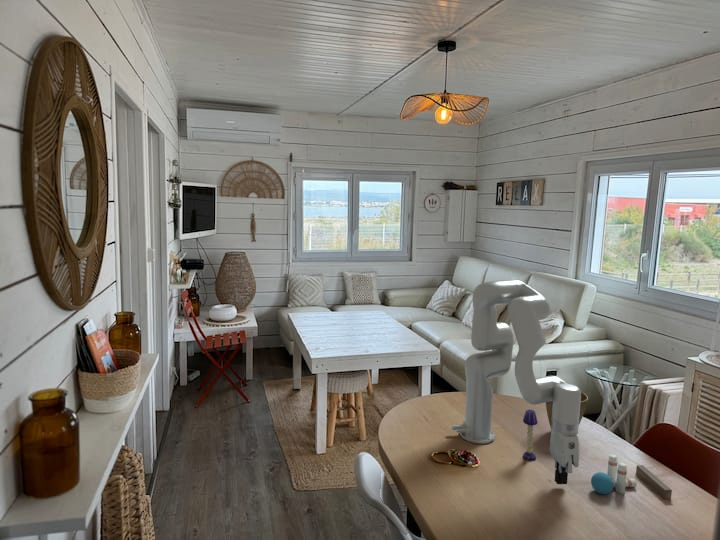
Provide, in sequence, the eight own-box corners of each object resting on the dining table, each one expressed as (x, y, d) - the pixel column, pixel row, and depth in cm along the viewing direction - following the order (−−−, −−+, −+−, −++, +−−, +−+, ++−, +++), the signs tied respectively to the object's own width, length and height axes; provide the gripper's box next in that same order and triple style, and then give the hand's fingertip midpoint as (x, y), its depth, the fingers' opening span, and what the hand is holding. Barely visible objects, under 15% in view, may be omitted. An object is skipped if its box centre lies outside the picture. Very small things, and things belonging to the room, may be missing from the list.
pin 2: (618, 493, 149) (620, 467, 148) (613, 489, 151) (616, 462, 150) (626, 493, 149) (629, 466, 148) (621, 488, 151) (624, 462, 150)
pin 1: (609, 484, 154) (611, 458, 153) (605, 479, 156) (607, 454, 155) (617, 484, 154) (619, 458, 153) (612, 479, 156) (614, 454, 155)
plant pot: (541, 439, 183) (544, 397, 181) (542, 423, 197) (545, 384, 195) (586, 446, 178) (589, 404, 176) (583, 429, 192) (586, 389, 190)
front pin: (610, 482, 151) (637, 481, 151) (605, 477, 153) (632, 476, 154) (608, 489, 151) (635, 488, 152) (604, 484, 154) (631, 483, 154)
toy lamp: (528, 462, 166) (531, 414, 164) (517, 456, 170) (520, 409, 168) (538, 459, 169) (541, 412, 166) (528, 453, 173) (531, 407, 170)
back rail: (664, 499, 146) (665, 490, 146) (635, 474, 160) (636, 465, 160) (670, 499, 146) (671, 489, 146) (641, 473, 160) (642, 465, 160)
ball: (615, 498, 147) (593, 497, 149) (610, 480, 152) (589, 479, 154) (615, 486, 144) (592, 485, 146) (611, 468, 149) (589, 467, 151)
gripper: (589, 437, 142) (584, 497, 144) (565, 415, 157) (561, 469, 159) (563, 437, 142) (559, 497, 144) (542, 415, 156) (538, 470, 159)
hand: (560, 482), depth 152 cm, fingers closed
